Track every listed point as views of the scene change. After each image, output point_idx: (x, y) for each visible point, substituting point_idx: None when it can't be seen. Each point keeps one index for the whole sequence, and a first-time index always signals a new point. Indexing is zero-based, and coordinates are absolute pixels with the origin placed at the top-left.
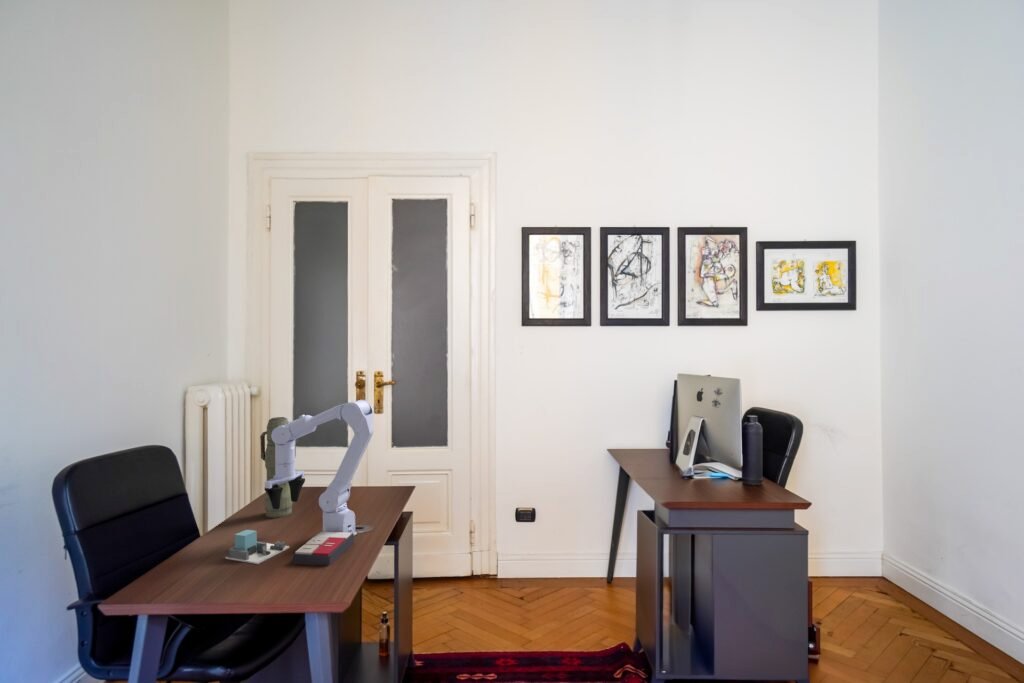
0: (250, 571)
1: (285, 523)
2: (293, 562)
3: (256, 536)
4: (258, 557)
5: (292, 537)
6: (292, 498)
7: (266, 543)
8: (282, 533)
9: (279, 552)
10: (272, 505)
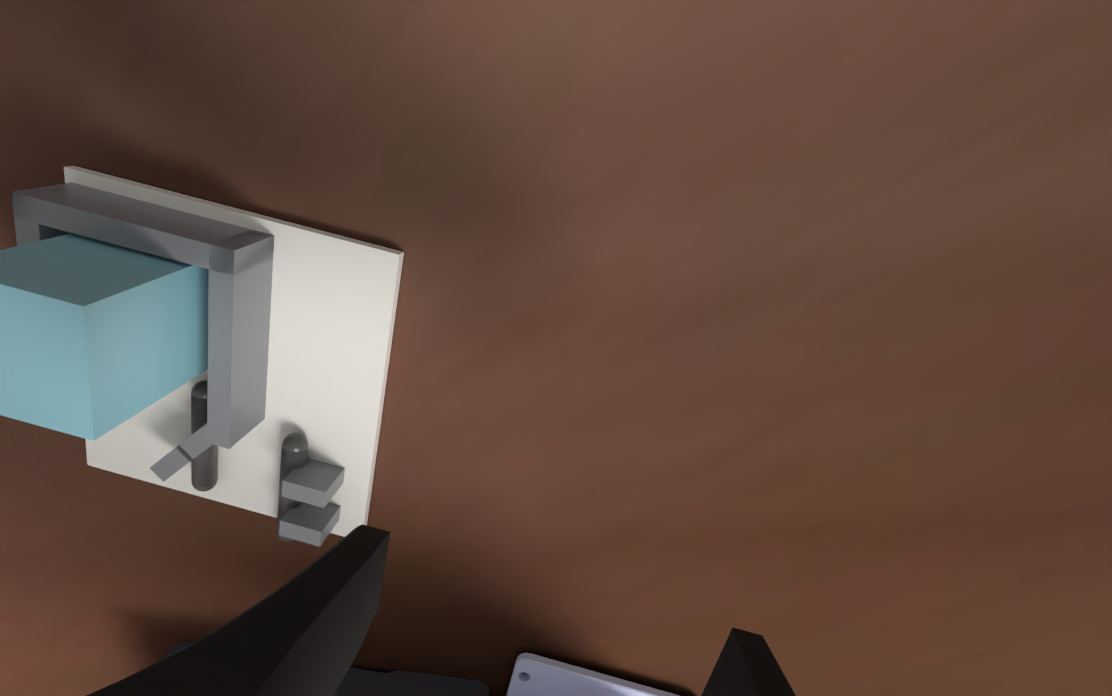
0: (9, 469)
1: (972, 209)
2: (171, 649)
3: (135, 412)
4: (148, 428)
5: (562, 467)
6: (731, 686)
7: (231, 445)
8: (653, 337)
9: (273, 511)
10: (328, 556)
